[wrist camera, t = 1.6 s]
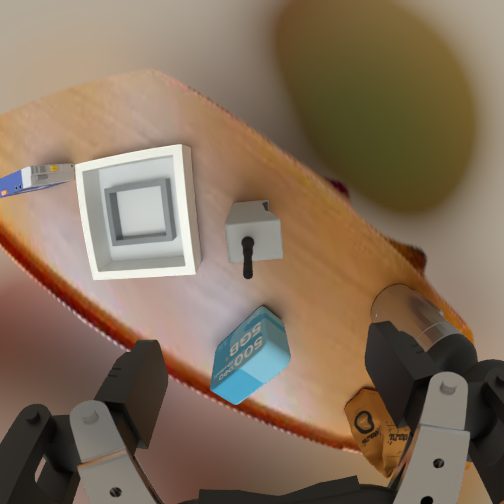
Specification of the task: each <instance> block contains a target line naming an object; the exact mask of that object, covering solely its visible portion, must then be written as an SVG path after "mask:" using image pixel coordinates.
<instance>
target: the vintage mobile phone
mask: <svg viewBox="0 0 504 504" xmlns="http://www.w3.org/2000/svg"><path fill="white" fill-rule="evenodd" d="M225 232H226V241H227V249H228V257H229V263H237V262H244V268H243V276H244V278H246V279H250V278H252V276H253V270H252V261H259V260H269V259H279V258H283V249H282V235H281V221H280V219H279V218H278V217H277V216H276V215H274V214H273V213H272V212H270V211H269V205H268V200H258V201H248V202H238V203H233V205H232V207H231V210H230V212H229V215H228V217H227V219H226V222H225Z"/></svg>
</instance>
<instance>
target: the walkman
mask: <svg viewBox="0 0 504 504" xmlns="http://www.w3.org/2000/svg"><path fill="white" fill-rule="evenodd" d="M74 171H75V168H74V163H71V164H51V165H39V166H29V167H26V168H24V169H22V170H19V171H17V172H15V173H12V174H10V175H8V176H5V177H3V178H1V179H0V198H2V197H7V196H11V195H16V194H21V193H26V192H30V191H36V190H41V189H45V188H48V187H51V186H55V185H58V184H61V183H65V182H67V181H71V180H74V179H75V175H74Z"/></svg>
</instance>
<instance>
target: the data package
mask: <svg viewBox="0 0 504 504" xmlns="http://www.w3.org/2000/svg"><path fill="white" fill-rule="evenodd" d="M290 358H291V354H290V350H289V345H288V341H287V336H286V332H285V327H284V323H283V321H281V320H280V319H279V318H278V317H276V316H275V315H274V314H273V313H271V312H270V311H269V310H268V309H266V308H265V307H263V306H262V307H259V308H258V309H257V310H256V311H255V312H254V313H253V314H251V315H250V316H249V317H248V318H247V319H246V320H245V321H244V322H243V323H242V324H241V325H240V326H239V327H238V328H237V329H236V330H235V331H234V332H233V333H231V334H230V335H229V336H228V337H227V338H226V339H225V340H224V341H223V342H222V343H221V344H220V345H219V346H218V348H217V350H216V352H215V359H214V365H213V372H212V378H211V385H210V389H211V391H213V392H214V393H216V394H218V395H219V396H221V397H223V398H224V399H226V400H227V401H229V402H231V403H233V404H239V403H240V402H242V401H243V400H244V399H246V398H247V397H249V396H250V395H251V394H253V393H254V392H255V391H257V390H258V389H259V388H260V387H262V386H263V385H264V384H266V383H267V382H268V381H270V380H271V379H272V378H273V377H275V376H276V375H277V374H278V373H280V372H281V371H282V370H283V369H284V368H285V367H286V366H287V365H288V363H289V361H290Z"/></svg>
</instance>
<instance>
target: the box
mask: <svg viewBox="0 0 504 504" xmlns="http://www.w3.org/2000/svg"><path fill="white" fill-rule="evenodd" d="M75 172H76V182H77V191H78V199H79V207H80V214H81V220H82V226H83V232H84V238H85V243H86V248H87V253H88V258H89V263H90V267H91V271H92V276H93V280H104V279H123V278H142V277H159V276H176V275H192V274H196V272H197V270H198V268H199V266H200V264H201V262H202V255H201V247H200V239H199V230H198V221H197V212H196V202H195V192H194V182H193V171H192V159H191V147H189V146H186V145H183V144H178V145H171V146H164V147H158V148H152V149H146V150H141V151H135V152H130V153H125V154H120V155H115V156H110V157H106V158H101V159H97V160H92V161H88V162H84V163H80V164H76V165H75Z"/></svg>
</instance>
